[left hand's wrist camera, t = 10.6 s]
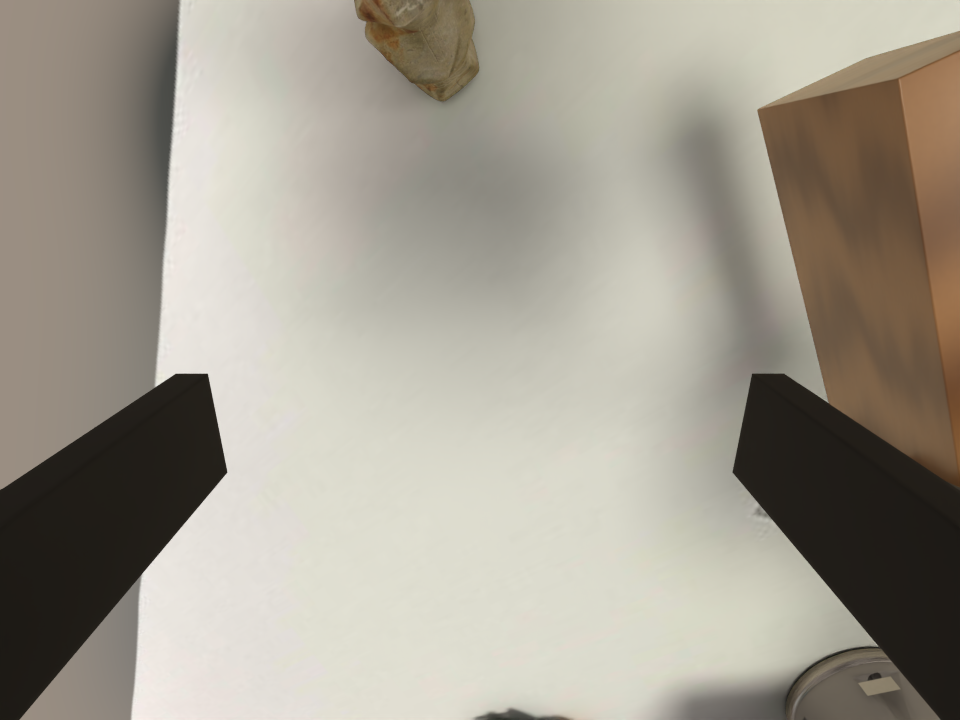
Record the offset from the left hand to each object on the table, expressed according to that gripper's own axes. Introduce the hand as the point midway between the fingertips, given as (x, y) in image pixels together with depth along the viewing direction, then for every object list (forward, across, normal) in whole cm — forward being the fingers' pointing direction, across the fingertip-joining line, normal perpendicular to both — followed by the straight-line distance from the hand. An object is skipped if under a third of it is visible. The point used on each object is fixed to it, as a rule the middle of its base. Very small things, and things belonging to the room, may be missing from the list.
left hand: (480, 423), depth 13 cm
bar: (+16, +20, -1) cm, 26 cm away
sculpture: (+29, -3, +14) cm, 33 cm away
